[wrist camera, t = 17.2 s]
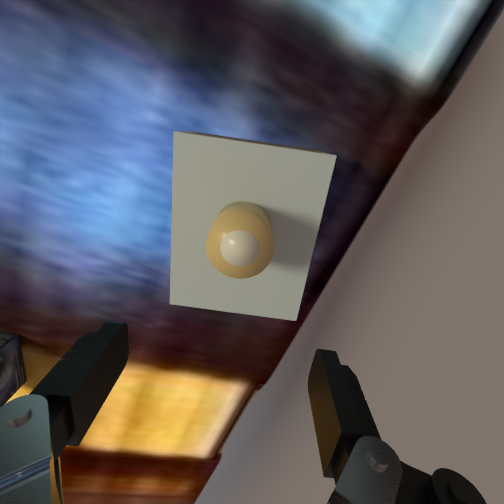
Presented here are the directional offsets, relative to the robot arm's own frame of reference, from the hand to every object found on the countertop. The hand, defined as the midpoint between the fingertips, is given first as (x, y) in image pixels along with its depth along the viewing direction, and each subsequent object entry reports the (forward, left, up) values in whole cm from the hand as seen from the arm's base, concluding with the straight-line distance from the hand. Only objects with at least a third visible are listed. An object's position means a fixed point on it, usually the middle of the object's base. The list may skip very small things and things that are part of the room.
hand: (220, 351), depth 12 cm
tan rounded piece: (0, 0, -17) cm, 17 cm away
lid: (+1, 0, -18) cm, 18 cm away
